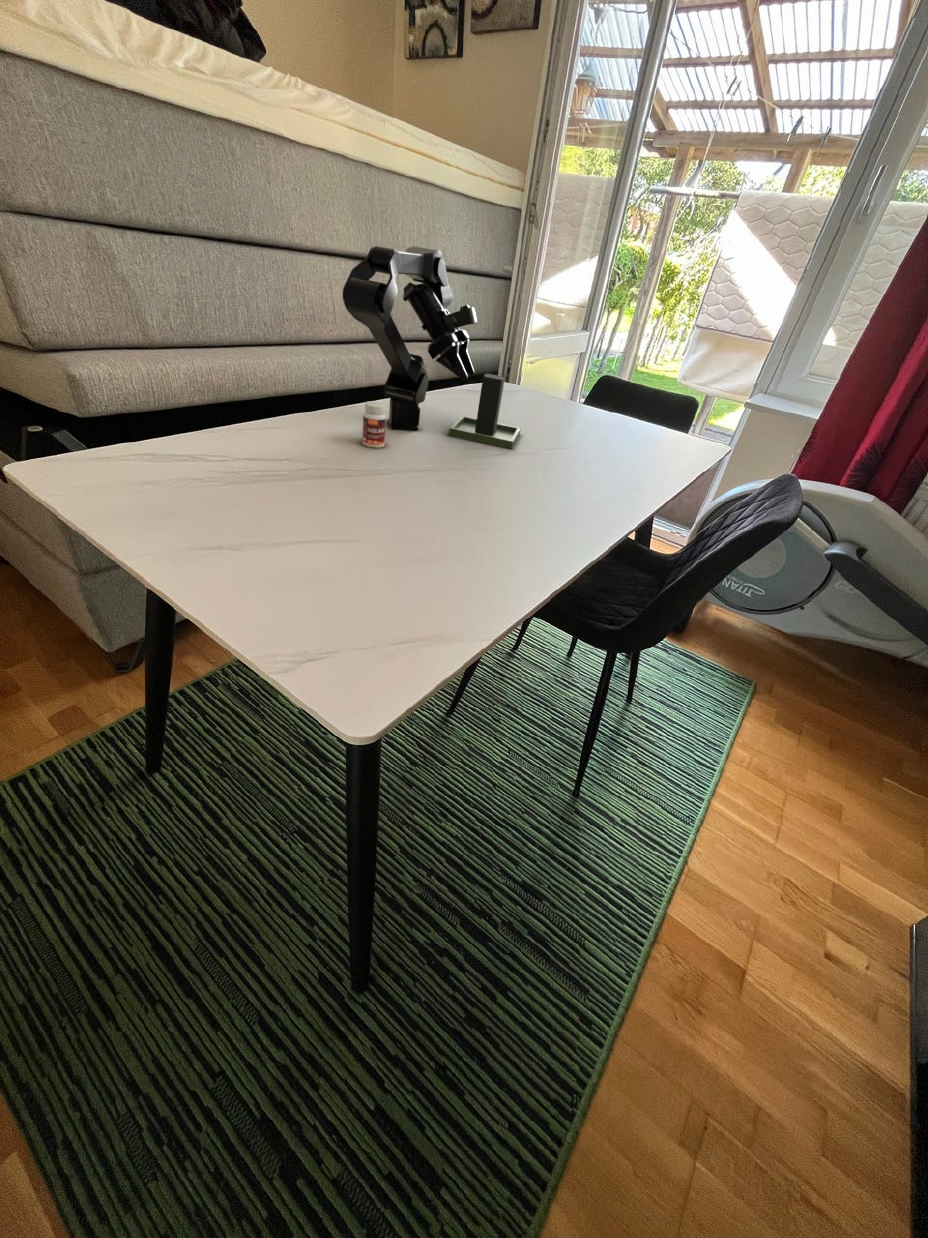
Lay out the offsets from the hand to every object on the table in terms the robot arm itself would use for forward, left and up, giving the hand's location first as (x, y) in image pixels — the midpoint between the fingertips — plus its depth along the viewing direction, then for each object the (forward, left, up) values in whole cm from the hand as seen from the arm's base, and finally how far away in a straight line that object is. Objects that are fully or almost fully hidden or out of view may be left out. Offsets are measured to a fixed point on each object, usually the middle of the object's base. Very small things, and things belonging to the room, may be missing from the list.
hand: (469, 376), depth 121 cm
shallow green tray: (+5, -3, -12) cm, 14 cm away
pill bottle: (-24, -13, -13) cm, 30 cm away
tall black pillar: (+5, -3, -12) cm, 13 cm away
